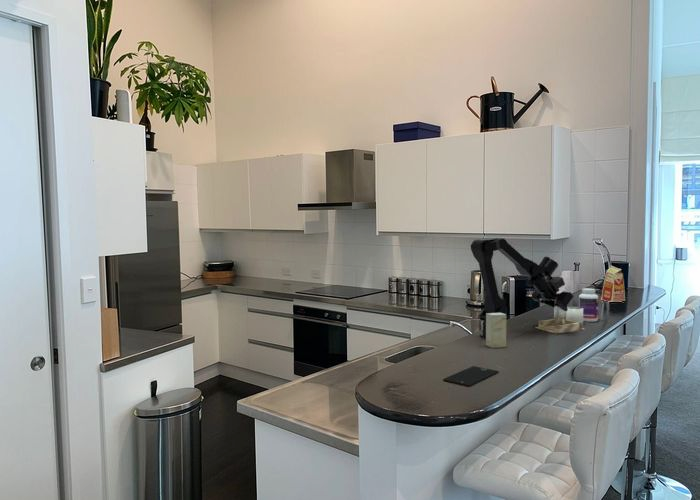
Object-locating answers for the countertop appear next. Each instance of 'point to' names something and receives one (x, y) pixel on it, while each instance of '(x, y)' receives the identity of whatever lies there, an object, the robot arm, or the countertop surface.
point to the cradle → (559, 326)
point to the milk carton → (613, 286)
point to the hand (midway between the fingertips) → (562, 309)
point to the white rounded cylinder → (575, 314)
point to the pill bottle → (589, 304)
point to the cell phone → (470, 376)
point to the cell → (559, 315)
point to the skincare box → (495, 330)
